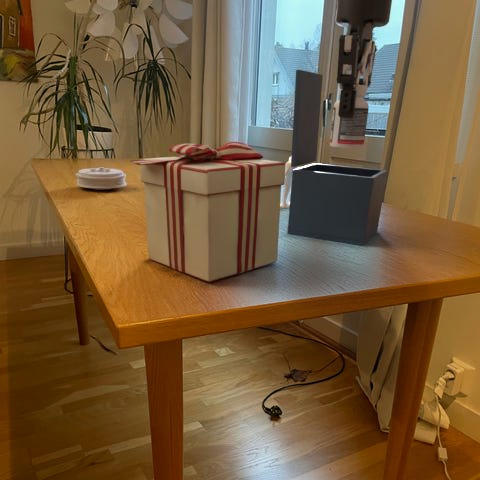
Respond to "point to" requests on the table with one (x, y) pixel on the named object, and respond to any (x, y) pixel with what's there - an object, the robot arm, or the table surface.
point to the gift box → (212, 209)
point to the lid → (101, 178)
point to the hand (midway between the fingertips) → (350, 116)
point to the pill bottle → (350, 124)
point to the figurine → (287, 183)
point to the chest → (336, 202)
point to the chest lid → (306, 117)
